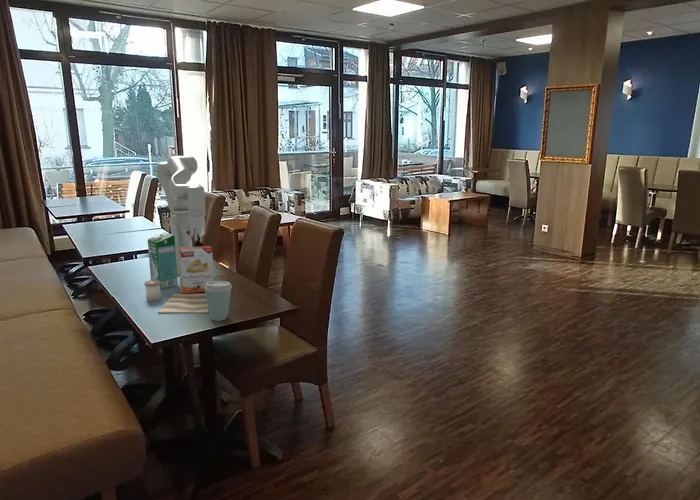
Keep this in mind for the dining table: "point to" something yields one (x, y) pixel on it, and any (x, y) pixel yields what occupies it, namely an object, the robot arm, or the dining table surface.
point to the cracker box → (195, 268)
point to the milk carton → (163, 259)
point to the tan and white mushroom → (153, 290)
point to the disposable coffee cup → (218, 299)
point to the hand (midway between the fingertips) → (199, 251)
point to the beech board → (185, 304)
